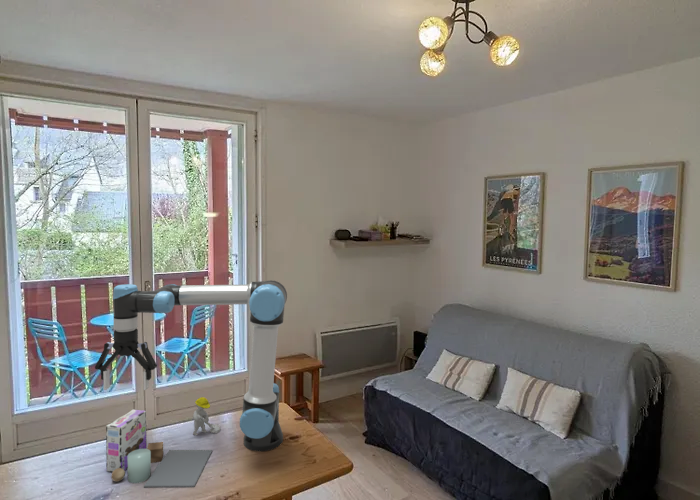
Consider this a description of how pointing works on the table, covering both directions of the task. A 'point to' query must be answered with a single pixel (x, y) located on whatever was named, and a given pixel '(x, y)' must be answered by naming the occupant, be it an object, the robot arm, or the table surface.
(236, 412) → the table surface
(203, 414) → the figurine
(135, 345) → the robot arm
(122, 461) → the candy box
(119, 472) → the cork ball
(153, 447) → the walnut block
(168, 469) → the felt mat
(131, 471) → the pale green rounded cylinder
